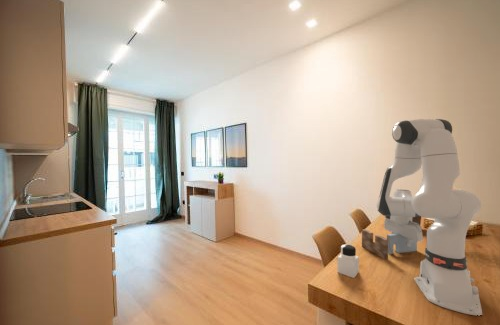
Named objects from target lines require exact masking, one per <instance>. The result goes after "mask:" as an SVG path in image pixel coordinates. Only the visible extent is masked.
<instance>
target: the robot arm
mask: <svg viewBox="0 0 500 325" xmlns="http://www.w3.org/2000/svg"><path fill="white" fill-rule="evenodd" d="M452 134H453V126H452V123H451V122H450V121H449V120H445V119H442V118H436V119H434V118H433V119H430V118H429V119H425V118H420V119H411V120H402V121H399V122H397V123H395V124H394V126H393V128H392V133H391V136H392V138H393V141H395V142H396V145H395V150H394V159H393V160H394V161H393V163H391V166H389V167H387V168H386V170H385V173H384V176H383V181H382V184H381V189H380V193H379V196H378V200H377V202H376V209H377V212H379V213H380V215H382V216H384V221H383V222H384V223H383V224H384V225H383V227H384V229H385V231H388V232H391V234H397V233H398V234H401V236H403V237H406V238H408V240H409V241H408V242H406V246H408V247H410V246H411V243H412V242H413V241H416V242H417V243H418V242H422V241H423V239H424V238H423V230H422V226H421V224H420V225H419V224H418V223H415V222H412V217H416V216H418V215H419V216H421V218H427V219H430V220H431V219H432V220H434V221H433V223H432V224H431V225H430V226H429V227H428V228H427V230H426V247H425V250H424V256H425V257H424V259H423V260H421V261H420V263H419V266H420V267H419V276H416V277H414V282H415V283H416V284H417V286H418V288H419V289H420V291H421V292H422V294H423V295H424V297H425V298H426V299H427V301H429V302H430V303H432V304H435V305H436V306H439V307H442V308H445V309H447V310H451V311H455V312H458V313H462V314H465V315H472V316H477V315H478V316H480V315H482V316H483V309H482V304H481V300H480V296H479V287H478V286H475V285H472V283H475V278H472V277H471V271H470V270H469V269H468V261H467V260H468V259H467V257H466V256H465V251H466V249H465V248H466V236H467V233H468V231H469V230H468V229H469V227H470V225H471V223H472V221H473V219H474V217H475V215H476V214H478V213H479V212H480V211H481V209H482V202H481V200H480V198H479V197H478V195H476V194H474V193H473V192H470V191H466V190H462V189H453V188H454V184H455V180H456V179H457V178H459V176H460V175H461V169H460V162H459V155H458V149H457V145H456V142H455V140H454V137H453V135H452ZM420 169H422V179H421V183H420V187H419V189H418V191H417V192H416V193H415V194H414V196H412V192H411V190H409V189H395V190H394V191H393V195H392V196H390V195H391V190H392V187H393V184H394V182H395V181H396V180H398V179H401V178H405V177H408V176H412V175H414V174H416V173H417V172H418V171H419V170H420ZM478 316H477V317H478ZM480 317H481V316H480Z"/></svg>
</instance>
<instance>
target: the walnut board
mask: <svg viewBox="0 0 500 325" xmlns="http://www.w3.org/2000/svg"><path fill="white" fill-rule="evenodd" d="M361 247H362V248H364V249H366V250H367V251H369V252H371V253H373V254H375V255H377V256H378V257H380V258H382V259H384V260H388V258H389V253H388V239H387V237H386V238H385V237H383V236H381V235H379V234H375V235H374V232H372V231H370V230H367V229H366V228H365V229H361Z"/></svg>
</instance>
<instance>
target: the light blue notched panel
mask: <svg viewBox="0 0 500 325" xmlns="http://www.w3.org/2000/svg"><path fill="white" fill-rule="evenodd" d="M386 239H388V255H389V254H390V255H393V254H394V245H395V252H396V253H397V254H401V253H402V254H403V253H411V252H418V242H416V241H413V242H412V243H411V246H410V247H408V246H406V242H408V241H409V240H408V238H406V237H403V236H401V234H398V233H397V234H392V233H388V234H386Z"/></svg>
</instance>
